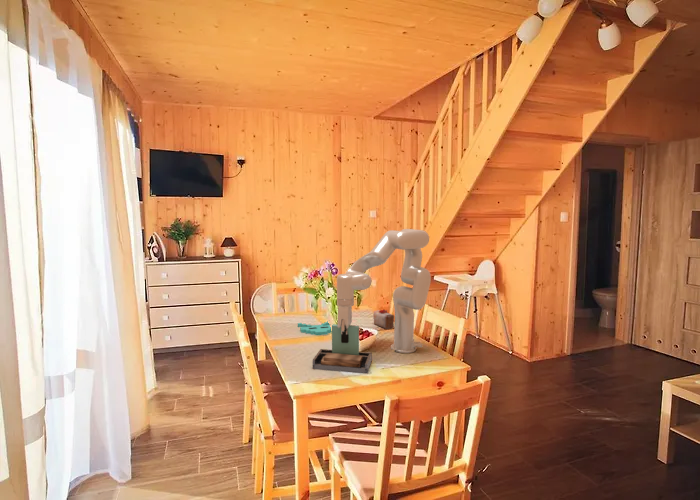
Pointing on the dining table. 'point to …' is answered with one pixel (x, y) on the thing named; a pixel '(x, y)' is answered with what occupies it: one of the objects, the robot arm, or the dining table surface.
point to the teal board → (345, 348)
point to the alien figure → (315, 328)
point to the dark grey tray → (363, 369)
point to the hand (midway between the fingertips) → (345, 341)
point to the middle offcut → (338, 363)
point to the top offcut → (343, 358)
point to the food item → (383, 319)
